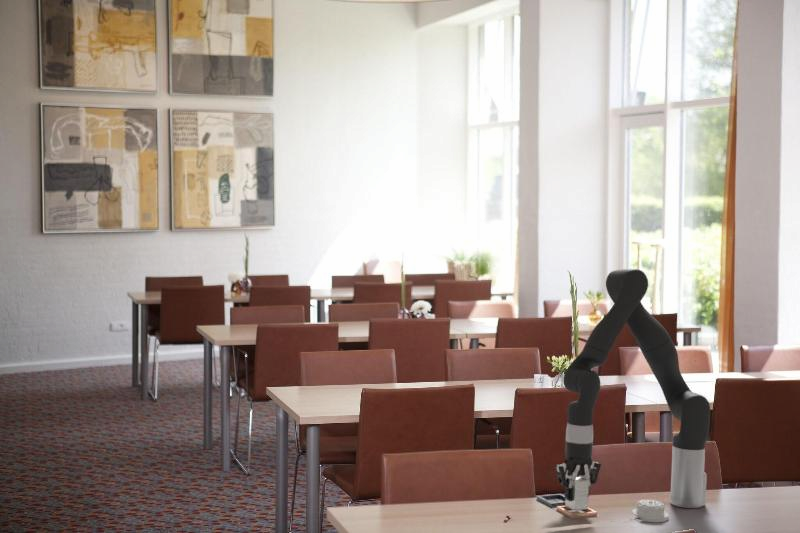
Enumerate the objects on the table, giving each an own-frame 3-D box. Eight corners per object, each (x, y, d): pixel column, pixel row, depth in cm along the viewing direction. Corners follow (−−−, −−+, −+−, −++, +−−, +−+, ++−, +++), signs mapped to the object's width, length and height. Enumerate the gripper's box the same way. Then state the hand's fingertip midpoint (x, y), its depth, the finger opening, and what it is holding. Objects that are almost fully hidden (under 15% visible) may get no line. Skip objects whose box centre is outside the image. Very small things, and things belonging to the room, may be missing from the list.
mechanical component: (632, 521, 284) (669, 524, 282) (632, 506, 283) (669, 509, 281) (631, 511, 293) (667, 514, 291) (632, 496, 293) (668, 499, 291)
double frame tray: (561, 500, 302) (561, 493, 302) (600, 519, 283) (600, 512, 283) (535, 502, 298) (535, 496, 298) (572, 523, 280) (572, 515, 280)
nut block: (578, 504, 289) (580, 476, 289) (587, 509, 285) (588, 480, 285) (565, 506, 287) (566, 477, 287) (573, 510, 283) (575, 482, 283)
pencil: (503, 523, 279) (503, 519, 279) (514, 504, 297) (515, 501, 297) (506, 523, 279) (506, 520, 279) (517, 504, 297) (517, 501, 297)
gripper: (593, 435, 291) (590, 494, 292) (550, 438, 286) (547, 498, 287) (608, 440, 284) (605, 501, 285) (564, 444, 279) (562, 505, 280)
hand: (576, 499), depth 286 cm, fingers closed on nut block, 4 cm apart
